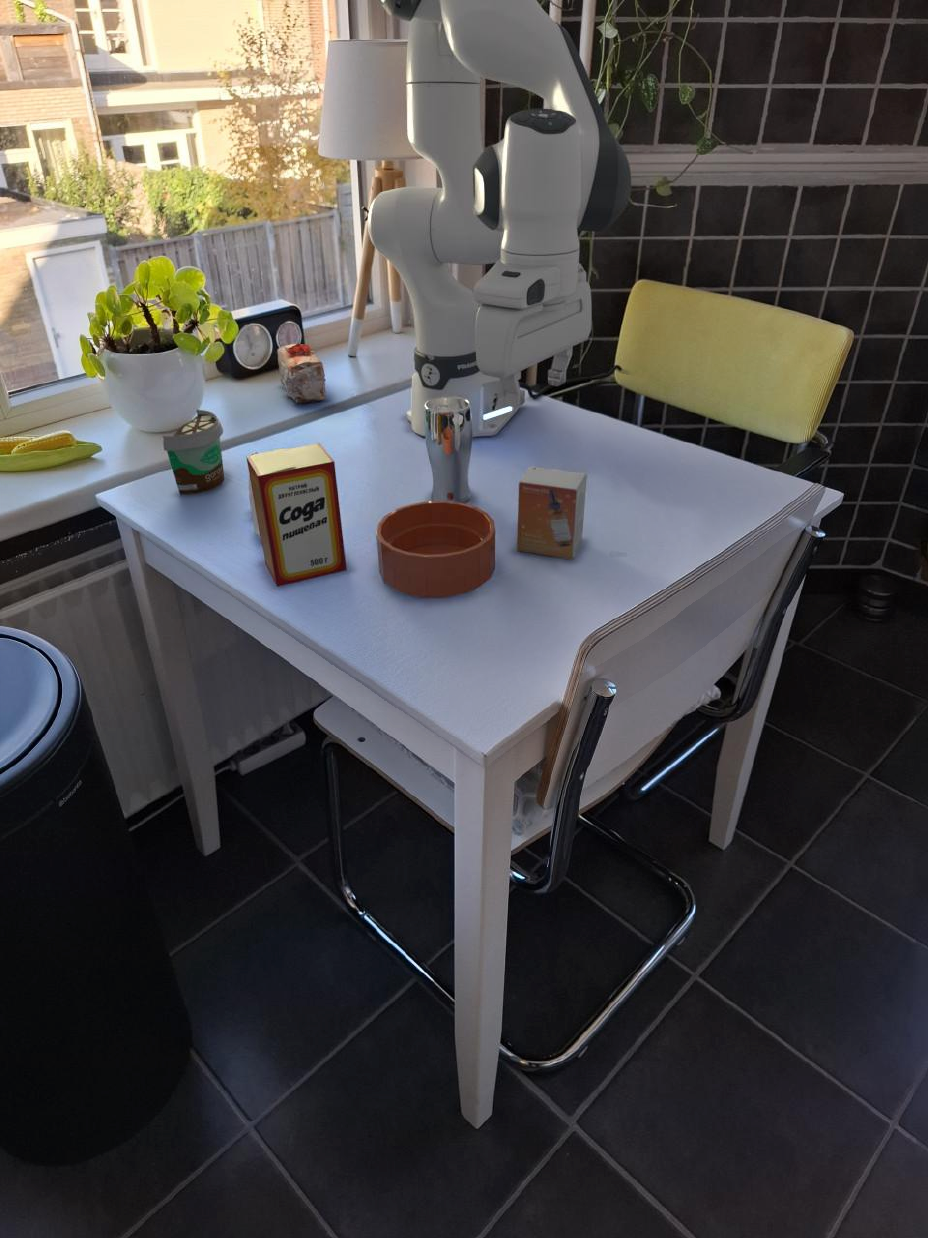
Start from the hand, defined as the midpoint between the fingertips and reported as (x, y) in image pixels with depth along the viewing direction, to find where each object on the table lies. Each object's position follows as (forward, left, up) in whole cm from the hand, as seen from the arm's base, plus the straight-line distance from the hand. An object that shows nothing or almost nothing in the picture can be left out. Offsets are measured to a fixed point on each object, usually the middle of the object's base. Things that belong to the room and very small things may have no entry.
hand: (536, 394), depth 106 cm
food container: (+6, -56, -22) cm, 60 cm away
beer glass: (-8, -19, -22) cm, 30 cm away
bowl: (+11, -9, -22) cm, 26 cm away
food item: (-33, -70, -22) cm, 80 cm away
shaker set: (+13, -37, -22) cm, 45 cm away
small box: (-2, +1, -22) cm, 23 cm away
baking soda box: (+19, -25, -22) cm, 38 cm away
